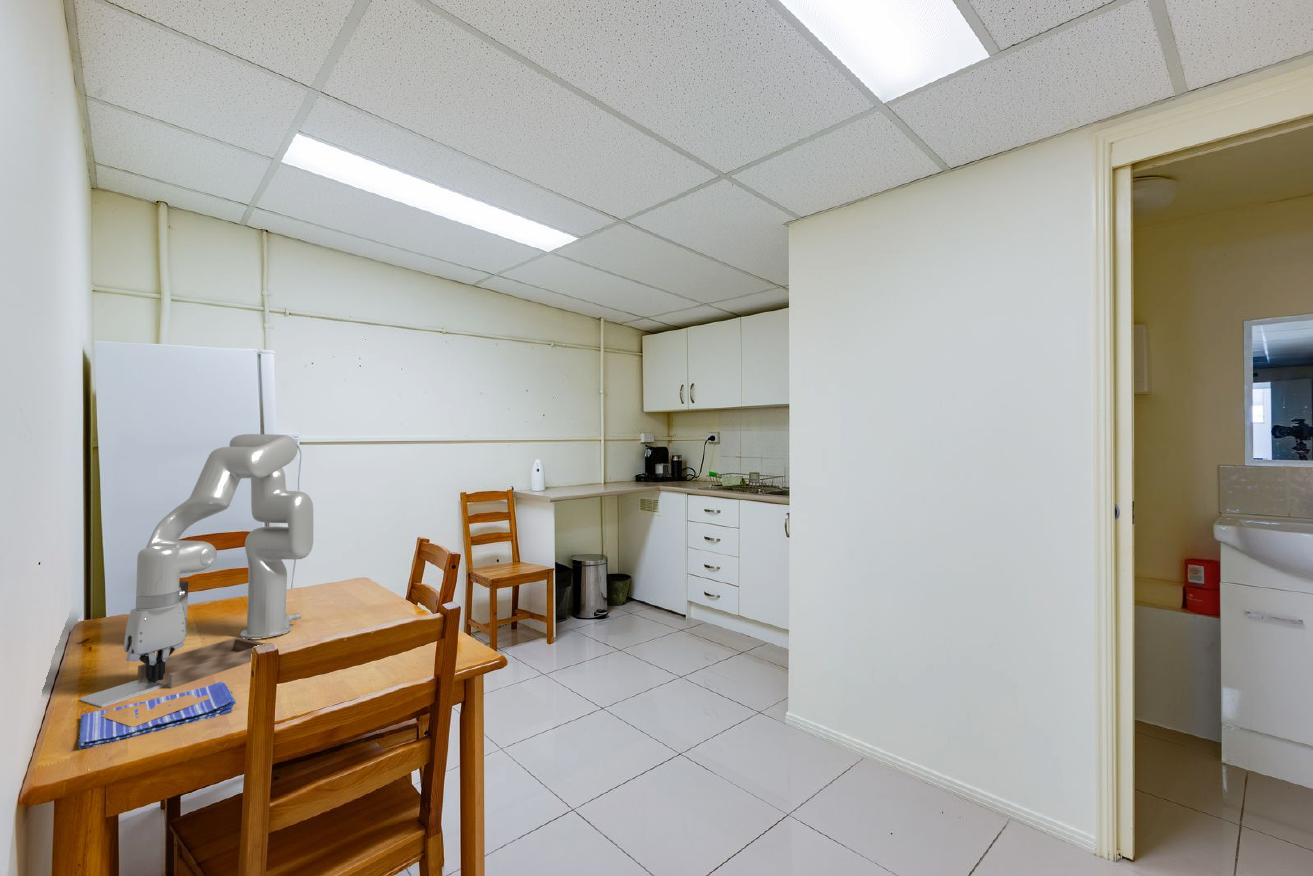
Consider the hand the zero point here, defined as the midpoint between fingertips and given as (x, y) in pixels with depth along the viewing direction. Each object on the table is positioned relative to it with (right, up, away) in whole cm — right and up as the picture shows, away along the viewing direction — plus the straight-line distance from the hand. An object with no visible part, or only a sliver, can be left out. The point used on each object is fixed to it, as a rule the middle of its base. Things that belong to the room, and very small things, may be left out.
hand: (155, 679), depth 131 cm
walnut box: (+4, -2, +10) cm, 11 cm away
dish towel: (+13, -2, -13) cm, 19 cm away
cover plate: (-2, -2, -6) cm, 6 cm away
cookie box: (-25, -2, +30) cm, 39 cm away
